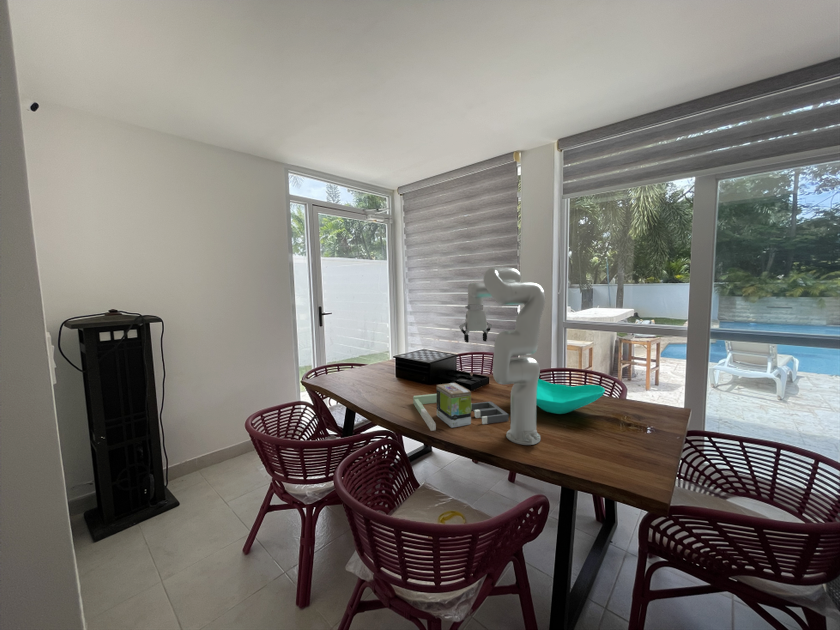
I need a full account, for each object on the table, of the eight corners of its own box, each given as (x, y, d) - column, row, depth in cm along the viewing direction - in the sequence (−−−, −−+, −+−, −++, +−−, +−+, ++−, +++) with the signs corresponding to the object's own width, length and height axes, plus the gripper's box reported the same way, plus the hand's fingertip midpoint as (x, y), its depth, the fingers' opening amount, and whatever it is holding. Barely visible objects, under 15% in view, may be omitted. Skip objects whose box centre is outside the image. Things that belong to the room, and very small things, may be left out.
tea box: (472, 424, 142) (471, 390, 141) (450, 428, 139) (450, 394, 137) (455, 412, 156) (455, 381, 155) (436, 415, 153) (435, 384, 151)
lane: (487, 423, 143) (487, 414, 142) (431, 430, 137) (430, 421, 136) (459, 398, 175) (459, 391, 174) (413, 403, 169) (413, 396, 168)
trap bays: (508, 421, 145) (508, 414, 145) (487, 423, 143) (487, 416, 143) (491, 407, 162) (491, 401, 161) (471, 409, 159) (471, 403, 159)
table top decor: (607, 409, 156) (607, 381, 155) (601, 431, 133) (602, 399, 132) (522, 395, 178) (522, 371, 177) (504, 412, 155) (504, 384, 154)
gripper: (461, 309, 162) (462, 343, 163) (494, 307, 166) (494, 341, 167) (456, 308, 169) (457, 341, 170) (488, 306, 173) (488, 339, 174)
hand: (475, 341), depth 169 cm, fingers open, 9 cm apart
